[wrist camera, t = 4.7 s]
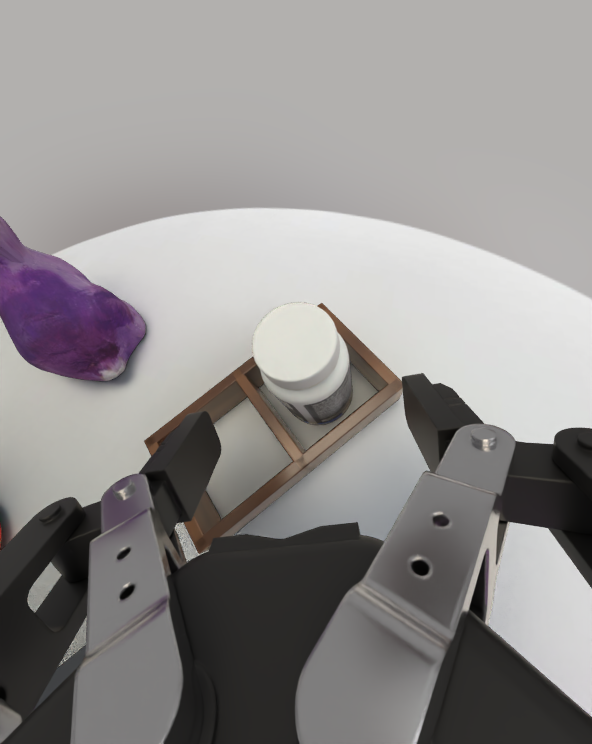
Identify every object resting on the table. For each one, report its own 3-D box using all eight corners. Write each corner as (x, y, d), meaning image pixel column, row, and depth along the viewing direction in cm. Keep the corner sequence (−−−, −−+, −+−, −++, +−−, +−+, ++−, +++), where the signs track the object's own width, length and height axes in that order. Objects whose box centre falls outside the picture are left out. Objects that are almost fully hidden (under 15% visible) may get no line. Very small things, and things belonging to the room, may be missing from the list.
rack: (171, 446, 22) (143, 440, 19) (326, 324, 23) (321, 302, 20) (222, 544, 19) (198, 554, 16) (399, 398, 20) (405, 384, 17)
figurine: (71, 296, 30) (-179, 133, 16) (161, 290, 27) (-40, 96, 14) (35, 386, 26) (-316, 280, 13) (133, 388, 24) (-163, 263, 11)
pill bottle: (353, 361, 21) (348, 291, 14) (352, 427, 20) (346, 390, 12) (288, 361, 22) (250, 296, 15) (282, 424, 21) (236, 388, 13)
